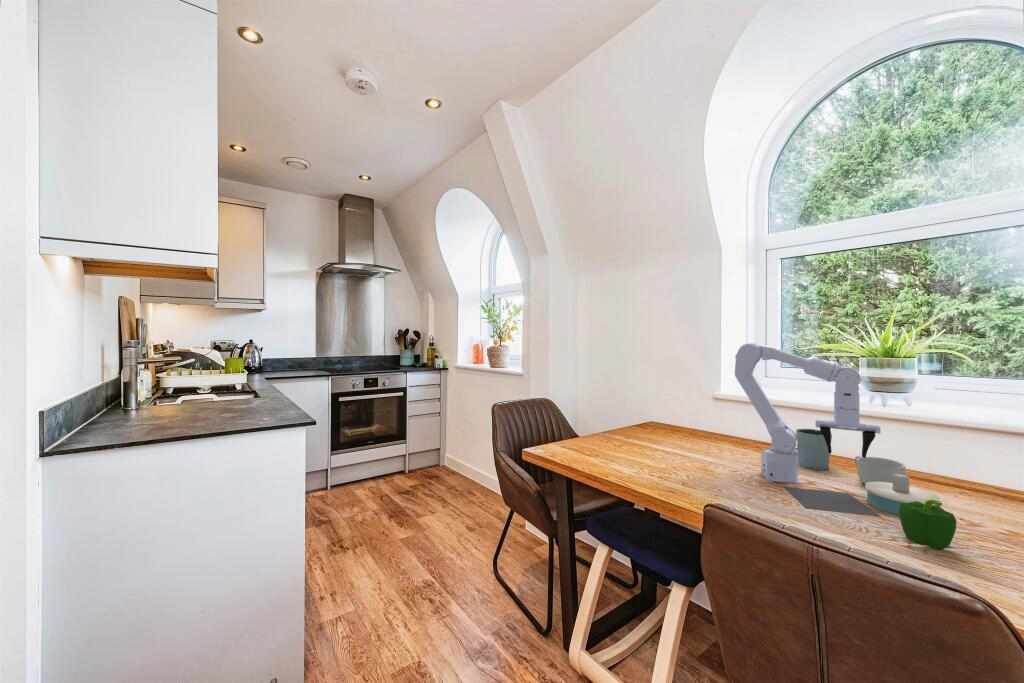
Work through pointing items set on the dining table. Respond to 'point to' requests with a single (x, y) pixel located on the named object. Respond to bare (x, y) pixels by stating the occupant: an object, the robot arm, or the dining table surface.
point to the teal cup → (812, 449)
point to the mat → (830, 501)
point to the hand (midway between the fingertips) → (846, 454)
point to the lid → (900, 490)
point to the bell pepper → (927, 523)
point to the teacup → (878, 469)
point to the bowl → (884, 503)
